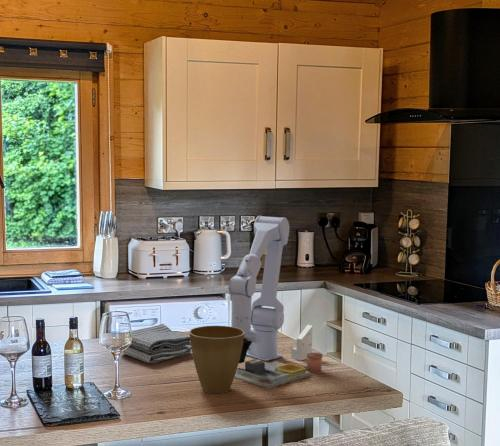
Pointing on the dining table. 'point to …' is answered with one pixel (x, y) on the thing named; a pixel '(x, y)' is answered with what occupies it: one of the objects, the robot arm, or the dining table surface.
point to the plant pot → (216, 355)
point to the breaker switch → (255, 366)
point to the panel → (273, 374)
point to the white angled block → (303, 344)
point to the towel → (157, 344)
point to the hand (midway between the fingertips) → (240, 362)
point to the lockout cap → (314, 362)
